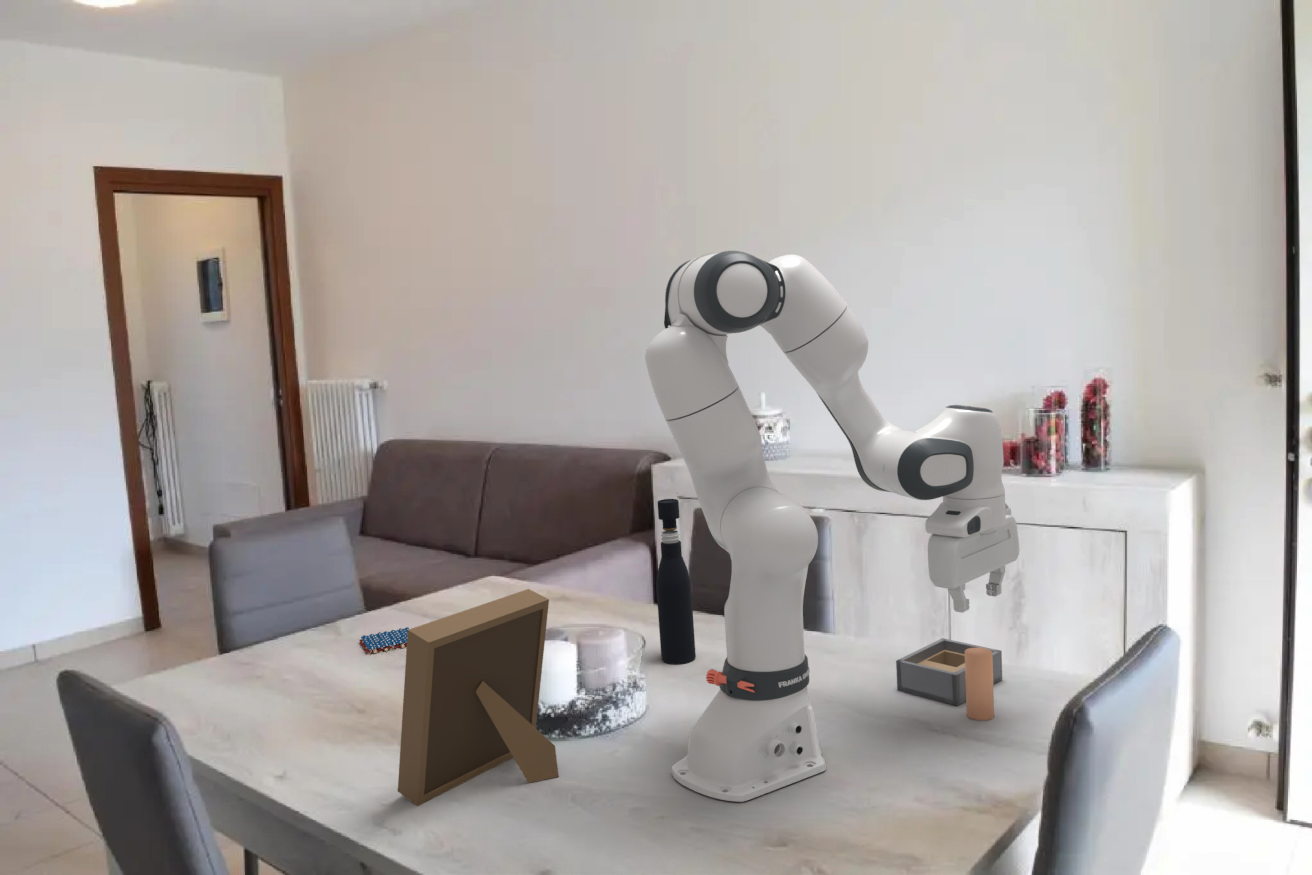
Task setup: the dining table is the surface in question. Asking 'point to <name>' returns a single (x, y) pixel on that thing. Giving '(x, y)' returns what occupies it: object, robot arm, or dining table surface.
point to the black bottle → (674, 592)
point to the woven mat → (384, 641)
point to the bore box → (940, 671)
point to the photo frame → (474, 697)
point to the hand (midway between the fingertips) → (978, 602)
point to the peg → (979, 683)
